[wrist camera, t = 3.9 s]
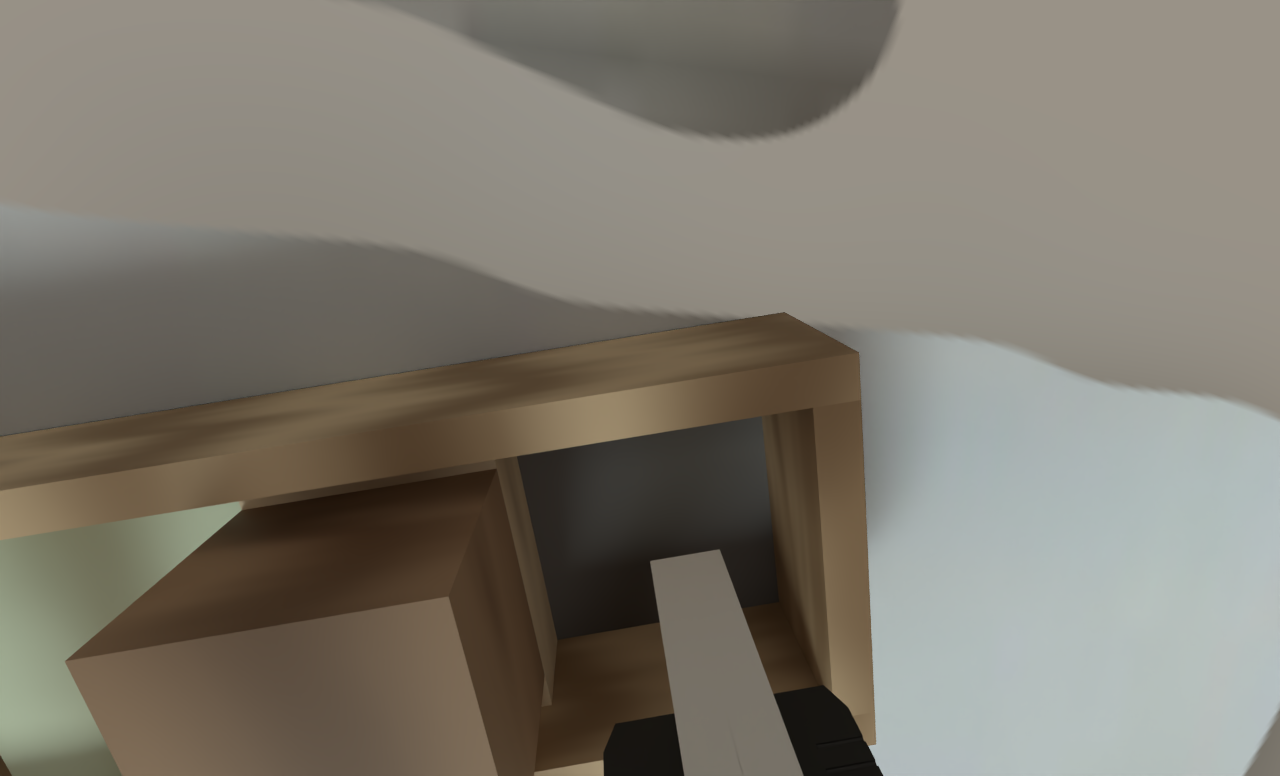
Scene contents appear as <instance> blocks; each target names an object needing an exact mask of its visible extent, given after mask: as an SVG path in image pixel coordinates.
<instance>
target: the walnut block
mask: <svg viewBox="0 0 1280 776" xmlns="http://www.w3.org/2000/svg"><path fill="white" fill-rule="evenodd" d="M65 663H66V665H67V667H68V669H69V671H70V673H71V675H72V677H73V679H74V681H75V683H76V685H77V687H78V689H79V691H80V693H81V695H82V697H83V699H84V701H85V703H86V705H87V707H88V709H89V711H90V713H91V715H92V717H93V719H94V721H95V723H96V725H97V727H98V729H99V731H100V732H101V734H102V736H103V738H104V740H105V742H106V744H107V746H108V748H109V750H110V752H111V754H112V756H113V758H114V760H115V762H116V764H117V766H118V768H119V770H120V772H121V774H122V776H534V771H535V762H536V752H537V743H538V733H539V724H540V715H541V705H542V696H543V687H544V677H545V674H544V669H543V665H542V661H541V656H540V652H539V648H538V644H537V639H536V635H535V631H534V626H533V622H532V618H531V613H530V609H529V605H528V601H527V596H526V592H525V588H524V583H523V579H522V575H521V571H520V566H519V562H518V558H517V553H516V549H515V545H514V540H513V536H512V532H511V528H510V523H509V519H508V515H507V510H506V506H505V502H504V497H503V493H502V489H501V485H500V480H499V476H498V472H497V469H491V470H484V471H478V472H472V473H466V474H460V475H454V476H448V477H442V478H436V479H429V480H423V481H417V482H411V483H405V484H399V485H393V486H387V487H380V488H374V489H368V490H362V491H356V492H350V493H344V494H338V495H331V496H325V497H319V498H313V499H307V500H301V501H295V502H289V503H283V504H276V505H270V506H264V507H258V508H252V509H246V510H241V511H240V512H239V513H238V514H237V515H235V516H234V517H233V518H232V519H231V520H230V521H228V522H227V523H226V524H225V525H224V526H223V527H221V528H220V529H219V530H218V531H217V532H216V533H214V534H213V535H212V536H211V537H210V538H209V539H207V540H206V541H205V542H204V543H203V544H201V545H200V546H199V547H198V548H197V549H196V550H194V551H193V552H192V553H191V554H190V555H189V556H187V557H186V558H185V559H184V560H183V561H182V562H180V563H179V564H178V565H177V566H176V567H175V568H173V569H172V570H171V571H170V572H169V573H167V574H166V575H165V576H164V577H163V578H162V579H160V580H159V581H158V582H157V583H156V584H155V585H153V586H152V587H151V588H150V589H149V590H148V591H146V592H145V593H144V594H143V595H142V596H141V597H139V598H138V599H137V600H136V601H135V602H133V603H132V604H131V605H130V606H129V607H128V608H126V609H125V610H124V611H123V612H122V613H121V614H119V615H118V616H117V617H116V618H115V619H114V620H112V621H111V622H110V623H109V624H108V625H106V626H105V627H104V628H103V629H102V630H101V631H99V632H98V633H97V634H96V635H95V636H94V637H92V638H91V639H90V640H89V641H88V642H87V643H85V644H84V645H83V646H82V647H81V648H80V649H78V650H77V651H76V652H75V653H74V654H72V655H71V656H70V657H69V658H68V659H67V660H65Z"/></svg>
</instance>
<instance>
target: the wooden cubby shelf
mask: <svg viewBox="0 0 1280 776" xmlns="http://www.w3.org/2000/svg"><path fill="white" fill-rule="evenodd" d="M491 469H497V472H498V476H499V480H500V485H501V489H502V493H503V497H504V502H505V506H506V510H507V515H508V519H509V523H510V528H511V532H512V536H513V540H514V545H515V549H516V553H517V558H518V562H519V566H520V571H521V575H522V579H523V583H524V588H525V592H526V596H527V601H528V605H529V609H530V613H531V618H532V622H533V626H534V631H535V635H536V639H537V644H538V648H539V652H540V656H541V661H542V665H543V669H544V674H545V677H544V687H543V696H542V705H541V715H540V724H539V733H538V743H537V752H536V762H535V771H534V776H604V764H603V752H604V750H605V747H606V745H607V742H608V740H609V737H610V735H611V733H612V730H613V728H614V725H615V724H616V723H622V722H627V721H633V720H639V719H644V718H650V717H656V716H661V715H667V714H673V713H674V708H673V701H672V695H671V689H670V683H669V676H668V670H667V664H666V658H665V651H664V645H663V639H662V633H661V626H660V620H659V614H658V608H657V601H656V595H655V589H654V583H653V576H652V570H651V564H650V561H653V560H659V559H665V558H671V557H677V556H683V555H689V554H695V553H701V552H707V551H713V550H718V549H720V552H721V554H722V557H723V560H724V562H725V565H726V568H727V571H728V573H729V576H730V579H731V581H732V584H733V587H734V589H735V592H736V595H737V598H738V600H739V603H740V606H741V608H742V611H743V614H744V616H745V619H746V622H747V625H748V627H749V630H750V633H751V635H752V638H753V641H754V643H755V646H756V649H757V652H758V654H759V657H760V660H761V662H762V665H763V668H764V670H765V673H766V676H767V679H768V681H769V684H770V687H771V689H772V692H773V694H775V693H781V692H787V691H792V690H798V689H804V688H809V687H815V686H821V685H824V686H825V687H826V688H827V689H829V690H830V691H831V692H832V693H833V694H834V695H835V696H836V697H837V698H839V699H840V700H841V701H842V702H843V703H844V704H845V705H846V706H848V708H849V710H850V712H851V714H852V716H853V718H854V720H855V722H856V723H857V725H858V727H859V729H860V731H861V733H862V735H863V739H864V741H866V743H867V745H868V746H869V745H875V744H876V731H875V708H874V685H873V662H872V639H871V616H870V593H869V570H868V547H867V524H866V501H865V478H864V455H863V432H862V409H861V386H860V363H859V352H857V351H855V350H853V349H851V348H849V347H848V346H846V345H844V344H842V343H840V342H838V341H837V340H835V339H833V338H831V337H829V336H827V335H825V334H824V333H822V332H820V331H818V330H816V329H814V328H813V327H811V326H809V325H807V324H805V323H803V322H802V321H800V320H798V319H796V318H794V317H792V316H790V315H789V314H787V313H785V312H783V313H777V314H771V315H764V316H758V317H752V318H745V319H739V320H733V321H726V322H720V323H714V324H707V325H701V326H695V327H689V328H682V329H676V330H670V331H663V332H657V333H651V334H644V335H638V336H632V337H625V338H619V339H613V340H607V341H600V342H594V343H588V344H581V345H575V346H569V347H562V348H556V349H550V350H543V351H537V352H531V353H525V354H518V355H512V356H506V357H499V358H493V359H487V360H480V361H474V362H468V363H461V364H455V365H449V366H443V367H436V368H430V369H424V370H417V371H411V372H405V373H398V374H392V375H386V376H379V377H373V378H367V379H361V380H354V381H348V382H342V383H335V384H329V385H323V386H316V387H310V388H304V389H297V390H291V391H285V392H278V393H272V394H266V395H260V396H253V397H247V398H241V399H234V400H228V401H222V402H215V403H209V404H203V405H196V406H190V407H184V408H178V409H171V410H165V411H159V412H152V413H146V414H140V415H133V416H127V417H121V418H114V419H108V420H102V421H96V422H89V423H83V424H77V425H70V426H64V427H58V428H51V429H45V430H39V431H32V432H26V433H20V434H14V435H7V436H1V437H0V776H122V774H121V772H120V770H119V768H118V766H117V764H116V762H115V760H114V758H113V756H112V754H111V752H110V750H109V748H108V746H107V744H106V742H105V740H104V738H103V736H102V734H101V732H100V731H99V729H98V727H97V725H96V723H95V721H94V719H93V717H92V715H91V713H90V711H89V709H88V707H87V705H86V703H85V701H84V699H83V697H82V695H81V693H80V691H79V689H78V687H77V685H76V683H75V681H74V679H73V677H72V675H71V673H70V671H69V669H68V667H67V665H66V663H65V660H67V659H68V658H69V657H70V656H71V655H72V654H74V653H75V652H76V651H77V650H78V649H80V648H81V647H82V646H83V645H84V644H85V643H87V642H88V641H89V640H90V639H91V638H92V637H94V636H95V635H96V634H97V633H98V632H99V631H101V630H102V629H103V628H104V627H105V626H106V625H108V624H109V623H110V622H111V621H112V620H114V619H115V618H116V617H117V616H118V615H119V614H121V613H122V612H123V611H124V610H125V609H126V608H128V607H129V606H130V605H131V604H132V603H133V602H135V601H136V600H137V599H138V598H139V597H141V596H142V595H143V594H144V593H145V592H146V591H148V590H149V589H150V588H151V587H152V586H153V585H155V584H156V583H157V582H158V581H159V580H160V579H162V578H163V577H164V576H165V575H166V574H167V573H169V572H170V571H171V570H172V569H173V568H175V567H176V566H177V565H178V564H179V563H180V562H182V561H183V560H184V559H185V558H186V557H187V556H189V555H190V554H191V553H192V552H193V551H194V550H196V549H197V548H198V547H199V546H200V545H201V544H203V543H204V542H205V541H206V540H207V539H209V538H210V537H211V536H212V535H213V534H214V533H216V532H217V531H218V530H219V529H220V528H221V527H223V526H224V525H225V524H226V523H227V522H228V521H230V520H231V519H232V518H233V517H234V516H235V515H237V514H238V513H239V512H240V511H241V510H246V509H252V508H258V507H264V506H270V505H276V504H283V503H289V502H295V501H301V500H307V499H313V498H319V497H325V496H331V495H338V494H344V493H350V492H356V491H362V490H368V489H374V488H380V487H387V486H393V485H399V484H405V483H411V482H417V481H423V480H429V479H436V478H442V477H448V476H454V475H460V474H466V473H472V472H478V471H484V470H491Z"/></svg>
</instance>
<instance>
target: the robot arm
mask: <svg viewBox="0 0 1280 776" xmlns="http://www.w3.org/2000/svg"><path fill="white" fill-rule="evenodd" d="M650 564H651V570H652V576H653V583H654V589H655V595H656V601H657V608H658V614H659V620H660V626H661V633H662V639H663V645H664V651H665V658H666V664H667V670H668V676H669V683H670V689H671V695H672V701H673V708H674V713H673V714H667V715H661V716H656V717H650V718H644V719H639V720H633V721H627V722H622V723H616V724H615V725H614V728H613V730H612V733H611V735H610V737H609V740H608V742H607V745H606V747H605V750H604V752H603V764H604V776H883V774H882V772H881V770H880V768H879V767H878V766H877V765H876V762H875V759H874V757H873V755H872V753H871V751H870V749H869V747H868V745H867V743H866V741H864V739H863V735H862V733H861V731H860V729H859V727H858V725H857V723H856V722H855V720H854V718H853V716H852V714H851V712H850V710H849V708H848V706H846V705H845V704H844V703H843V702H842V701H841V700H840V699H839V698H837V697H836V696H835V695H834V694H833V693H832V692H831V691H830V690H829V689H827V688H826V687H825V686H824V685H821V686H815V687H809V688H804V689H798V690H792V691H787V692H781V693H775V694H773V692H772V689H771V687H770V684H769V681H768V679H767V676H766V673H765V670H764V668H763V665H762V662H761V660H760V657H759V654H758V652H757V649H756V646H755V643H754V641H753V638H752V635H751V633H750V630H749V627H748V625H747V622H746V619H745V616H744V614H743V611H742V608H741V606H740V603H739V600H738V598H737V595H736V592H735V589H734V587H733V584H732V581H731V579H730V576H729V573H728V571H727V568H726V565H725V562H724V560H723V557H722V554H721V552H720V549H718V550H713V551H707V552H701V553H695V554H689V555H683V556H677V557H671V558H665V559H659V560H653V561H650Z"/></svg>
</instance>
